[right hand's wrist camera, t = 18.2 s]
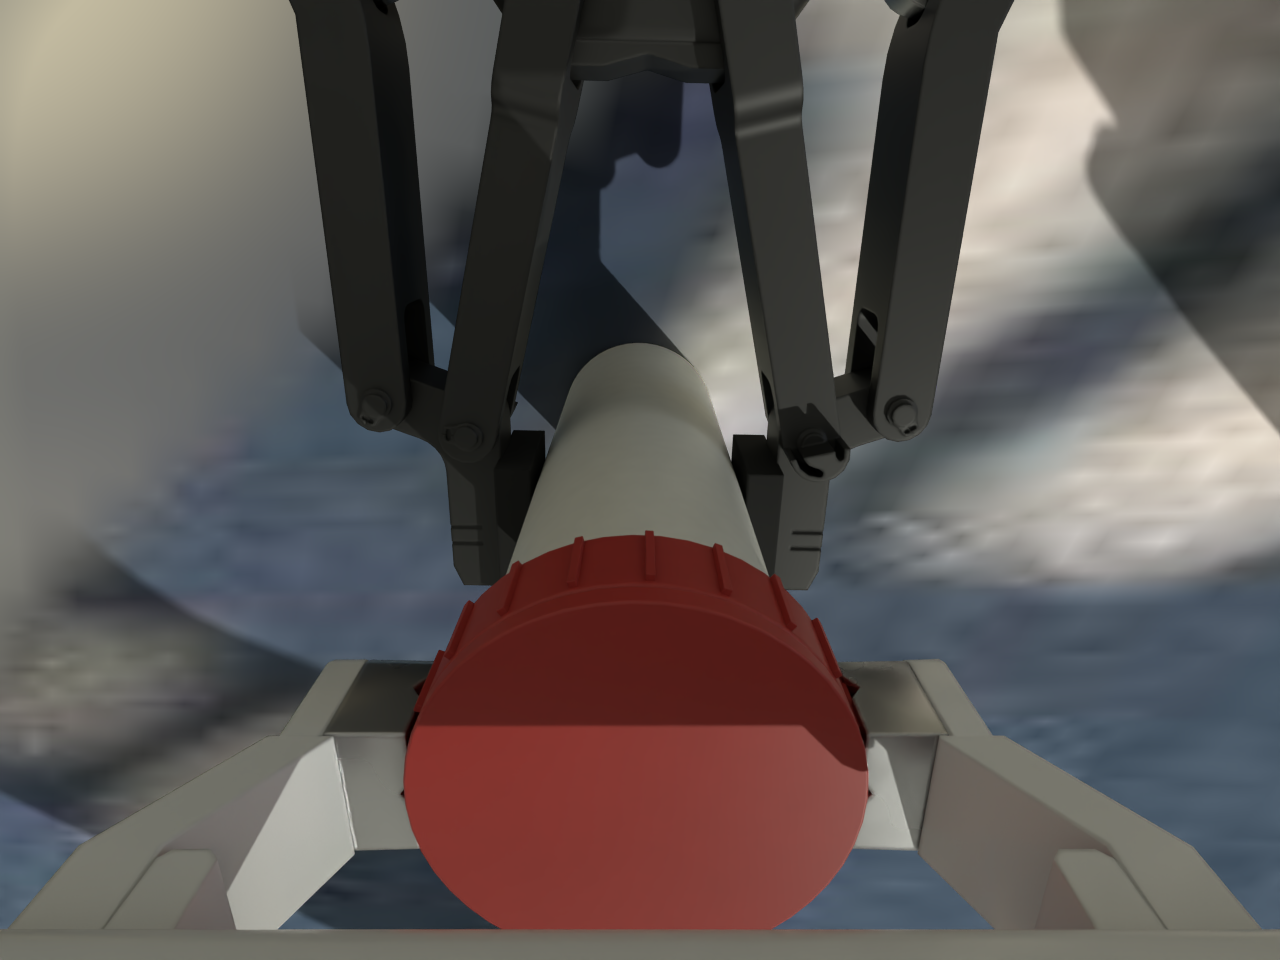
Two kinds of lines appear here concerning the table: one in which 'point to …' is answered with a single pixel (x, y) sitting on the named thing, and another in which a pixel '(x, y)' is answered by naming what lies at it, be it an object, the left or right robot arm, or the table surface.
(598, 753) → the lid
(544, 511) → the jar
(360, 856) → the table surface
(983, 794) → the right robot arm
